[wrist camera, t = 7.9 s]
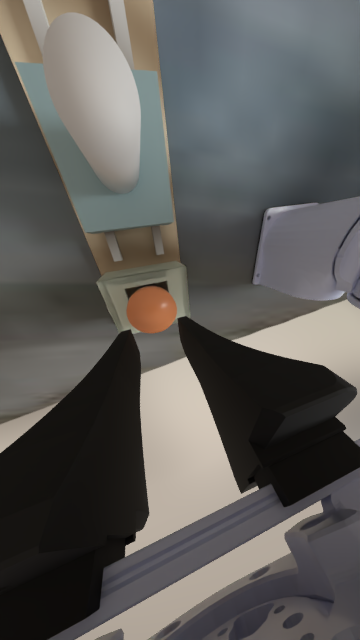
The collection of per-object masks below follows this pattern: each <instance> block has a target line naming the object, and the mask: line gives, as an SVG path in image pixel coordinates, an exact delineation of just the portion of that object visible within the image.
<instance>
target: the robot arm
mask: <svg viewBox="0 0 360 640" xmlns="http://www.w3.org/2000/svg"><path fill="white" fill-rule="evenodd" d="M267 218H268V220H267ZM257 274H258V275H257ZM252 283H253V284H254V285H257V284H261V285H263V286H266V287H269V288H272V289H274V290H277V291H280V292H283V293H285V294H288V295H291V296H294V297H298V298H303V299H309V300H333V299H337V298H339V297H341V296H342V295H343V294H344V292H348V294H347V299H348V301H349V302H350V303H351V304H353V305H354V306H356V307H357V308H359V309H360V196H358V197H353V198H348V199H343V200H338V201H333V202H328V203H323V204H318V203H308V204H300V205H291V206H282V207H274V208H268V209H267V210H266V211H265V213H264V219H263V224H262V230H261V236H260V242H259V247H258V253H257V259H256V264H255V270H254V276H253V282H252ZM177 320H178V326H179V333H180V340H181V343H182V346H183V349H184V352H185V354H186V356H187V358H188V360H189V362H190V364H191V366H192V368H193V370H194V372H195V374H196V376H197V378H198V380H199V382H200V384H201V387H202V389H203V392H204V394H205V397H206V400H207V402H208V405H209V407H210V410H211V413H212V415H213V418H214V421H215V424H216V426H217V429H218V432H219V435H220V437H221V440H222V443H223V446H224V448H225V451H226V454H227V457H228V460H229V463H230V466H231V469H232V471H233V475H234V477H235V480H236V482H237V485H238V487H239V490H240V492H241V493H244V492H246V491H248V490H250V489H251V488H254V487H256V486H258V488H259V490H257V491H255V492H253V493H251V494H249V495H247V496H246V497H243V498H241V499H240V500H237V501H236V502H234V503H232V504H230V505H228V506H226V507H224V508H222V509H220V510H218V511H216V512H214V513H212V514H210V515H208V516H206V517H204V518H202V519H200V520H198V521H196V522H194V523H192V524H190V525H188V526H186V527H184V528H182V529H180V530H178V531H176V532H174V533H172V534H170V535H168V536H166V537H164V538H162V539H160V540H158V541H156V542H154V543H152V544H151V545H148V546H146V547H144V548H143V549H141V550H138V551H136V552H135V553H133V554H131V555H129V556H127V557H125V546H126V545H128V544H130V543H132V542H134V541H135V538H136V532H138V531H140V530H142V529H143V528H144V525H145V523H146V521H147V518H148V516H149V507H148V499H147V489H146V480H145V469H144V458H143V447H142V434H141V419H140V379H141V378H140V377H141V362H140V352H139V349H138V347H137V344H136V342H135V339H134V336H133V334H132V331H131V329H129V330H125V331H121V332H120V333H119V335H118V336H117V338H116V339H115V340H114V342H113V343H112V345H111V346H110V347H109V349H108V350H107V351H106V353H105V354H104V355H103V356H102V358H101V359H100V360H99V361H98V362H97V364H96V365H95V366H94V367H93V369H92V370H91V371H90V372H89V373H88V374H87V375H86V376H85V378H84V379H83V380H82V381H81V382H80V383H79V384H78V385H77V386H76V387H75V388H74V389H73V390H72V391H71V392H70V393H69V394H68V395H67V396H66V397H65V398H64V399H62V400H61V401H60V402H59V403H58V404H57V405H56V406H55V407H54V408H53V409H52V410H51V411H50V412H49V413H47V414H46V415H45V416H44V417H43V418H42V419H41V420H40V421H38V422H37V423H36V424H35V425H34V426H33V427H31V428H30V429H29V430H28V431H27V432H26V433H24V434H23V435H22V436H21V437H20V438H18V439H17V440H16V441H15V442H14V443H12V444H11V445H10V446H9V447H8V448H6V449H5V450H4V451H3V452H1V453H0V640H75V639H77V638H78V637H80V636H82V635H84V634H85V633H87V632H89V631H91V630H92V629H94V628H96V627H98V626H99V625H101V624H103V623H105V622H106V621H108V620H110V619H112V618H114V617H115V616H117V615H119V614H121V613H122V612H124V611H126V610H128V609H129V608H131V607H133V606H135V605H136V604H138V603H140V602H142V601H144V600H145V599H147V598H149V597H151V596H152V595H154V594H156V593H158V592H159V591H161V590H163V589H165V588H166V587H168V586H170V585H172V584H173V583H175V582H177V581H179V580H181V579H182V578H184V577H186V576H188V575H189V574H191V573H193V572H195V571H196V570H198V569H200V568H202V567H203V566H205V565H207V564H209V563H210V562H212V561H214V560H216V559H218V558H219V557H221V556H223V555H225V554H226V553H228V552H230V551H232V550H233V549H235V548H237V547H239V546H240V545H242V544H244V543H246V542H247V541H249V540H251V539H253V538H255V537H256V536H258V535H260V534H262V533H263V532H265V531H267V530H269V529H270V528H272V527H274V526H276V525H277V524H279V523H281V522H283V521H284V520H286V519H288V518H290V517H291V516H293V515H295V514H297V513H298V512H300V511H302V510H304V509H306V508H307V507H309V506H311V505H313V504H314V503H316V502H318V501H320V500H321V503H322V507H323V513H320V514H316V515H313V516H310V517H308V518H306V519H303V520H302V521H300V522H299V523H297V524H296V525H295V526H293V527H292V528H291V529H290V530H288V532H286V533H285V540H286V542H287V544H288V546H289V548H290V550H291V552H292V553H290V554H288V555H286V556H284V557H282V558H280V559H278V560H276V561H274V562H273V563H270V564H268V565H266V566H265V567H262V568H260V569H258V570H256V571H255V572H253V573H251V574H249V575H247V576H245V577H243V578H241V579H239V580H237V581H235V582H234V583H232V584H230V585H228V586H227V587H225V588H223V589H222V590H220V591H218V592H216V593H215V594H213V595H212V596H210V597H208V598H207V599H205V600H204V601H202V602H201V603H199V604H198V605H196V606H195V607H193V608H192V609H190V610H189V611H187V612H186V613H185V614H183V615H182V616H180V617H179V618H177V619H176V620H175V621H173V622H172V623H170V624H169V625H168V626H166V627H165V628H163V629H162V630H160V631H159V632H158V633H156V634H155V635H154V636H152V637H151V638H149V639H148V640H360V439H358V440H356V441H353V440H351V438H350V437H348V436H347V435H346V434H345V433H344V432H343V431H344V430H345V429H346V427H345V425H344V424H343V423H341V422H340V421H339V420H338V419H337V418H336V417H335V416H336V415H337V414H338V413H339V412H340V411H341V410H343V409H344V408H345V407H346V406H347V405H348V404H349V403H350V402H351V401H352V400H353V399H354V398H355V397H356V395H357V389H356V387H354V386H353V385H351V384H349V383H348V382H347V381H345V380H344V379H342V378H341V377H339V376H338V375H336V374H335V373H334V372H332V371H331V370H329V369H328V368H326V367H325V366H323V365H318V364H313V363H308V362H303V361H299V360H293V359H289V358H284V357H281V356H277V355H273V354H269V353H266V352H262V351H259V350H255V349H252V348H249V347H246V346H243V345H241V344H238V343H235V342H233V341H231V340H228V339H226V338H223V337H221V336H219V335H217V334H215V333H213V332H211V331H210V330H208V329H206V328H204V327H203V326H201V325H199V324H198V323H196V322H194V321H193V320H191V319H190V318H188V317H187V316H184V317H179V318H177ZM123 636H124V633H123V631H122V629H118V630H116V631H114V632H111V633H108V634H106V635H103V636H101V637H99V638H97V639H95V640H123Z"/></svg>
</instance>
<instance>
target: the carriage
mask: <svg viewBox="0 0 360 640" xmlns="http://www.w3.org/2000/svg"><path fill="white" fill-rule="evenodd" d="M15 64H16V66H17V69H18V71H19V74H20V76H21V78H22V81H23V83H24V86H25V88H26V91H27V93H28V95H29V98H30V100H31V103H32V105H33V108H34V110H35V112H36V115H37V117H38V120H39V122H40V124H41V127H42V129H43V132H44V134H45V137H46V139H47V141H48V144H49V146H50V149H51V151H52V154H53V156H54V158H55V161H56V163H57V166H58V168H59V170H60V173H61V175H62V178H63V180H64V183H65V185H66V187H67V190H68V192H69V195H70V197H71V199H72V202H73V204H74V207H75V209H76V212H77V214H78V216H79V219H80V221H81V224H82V226H83V229H84V231H85V233H91V234H98V233H102V232H110V231H118V230H126V229H135V228H143V227H151V226H159V225H162V226H163V225H169V224H171V223H173V222H174V218H173V209H172V200H171V191H170V182H169V173H168V164H167V155H166V147H165V138H164V129H163V120H162V111H161V102H160V93H159V84H158V75H157V71H147V70H131V69H130V67H129V64H128V62H127V60H126V58H125V57H124V55H123V53H122V51H121V50H120V48H119V46H118V45H117V43H116V42H115V41H114V39H113V38H112V37H111V36H110V35H109V33H108V32H107V31H106V30H105V29H104V28H103V27H102V26H100V25H99V24H98V23H97V22H96V21H94V20H93V19H91V18H89V17H87V16H85V15H83V14H79V13H75V12H68V13H64V14H61V15H60V16H58V17H57V18H55V20H54V21H53V22H52V23H51V24H50V26H49V28H48V30H47V33H46V36H45V39H44V45H43V64H40V63H25V62H15Z"/></svg>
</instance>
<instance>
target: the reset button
mask: <svg viewBox="0 0 360 640" xmlns="http://www.w3.org/2000/svg"><path fill="white" fill-rule="evenodd" d="M176 315H177V306H176V303H175V301H174V299H173V297H172V296H171V294H170V293H169V292H168V291H166V290H165V289H163V288H161V287H159V286H158V285H157V284H155V283H153V284H147V285H142V286H139V287H138V288H137V289H136V291H135V292H134V293H133V294H132V295H131V297H130V298H129V301H128V304H127V318H128V320H129V322H130V324H131V325H132V326H133V327H134V328H136V329H137V330H139V331H141V332H145V333H157V332H161V331H163V330H165V329H167V328H168V327H169V326H170V325H171V324H172V323H173V322H174V320H175V318H176Z"/></svg>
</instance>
